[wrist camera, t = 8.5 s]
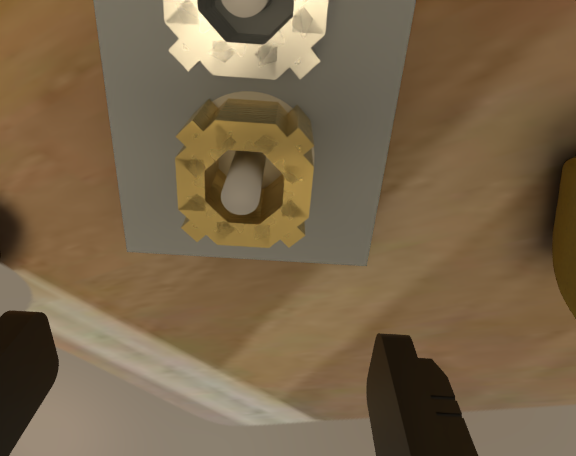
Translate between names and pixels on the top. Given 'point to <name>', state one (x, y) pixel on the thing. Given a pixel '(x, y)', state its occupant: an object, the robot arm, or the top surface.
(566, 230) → the flower pot
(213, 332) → the top surface
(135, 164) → the pegboard
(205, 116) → the brass gear
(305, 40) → the steel gear
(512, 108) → the top surface
